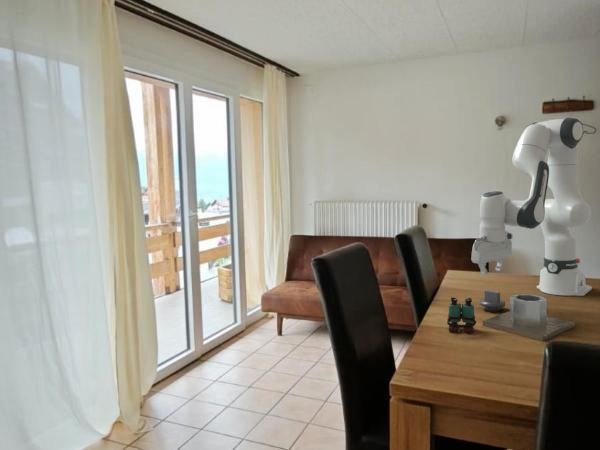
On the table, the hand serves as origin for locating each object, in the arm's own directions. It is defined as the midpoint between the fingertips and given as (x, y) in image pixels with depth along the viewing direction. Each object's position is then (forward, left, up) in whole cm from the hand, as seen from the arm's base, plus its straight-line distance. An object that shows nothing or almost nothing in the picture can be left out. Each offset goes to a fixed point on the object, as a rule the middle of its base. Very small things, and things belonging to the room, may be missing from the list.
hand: (491, 272), depth 166 cm
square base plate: (+8, +18, -14) cm, 24 cm away
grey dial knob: (0, 0, -14) cm, 14 cm away
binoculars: (+28, +7, -14) cm, 32 cm away
